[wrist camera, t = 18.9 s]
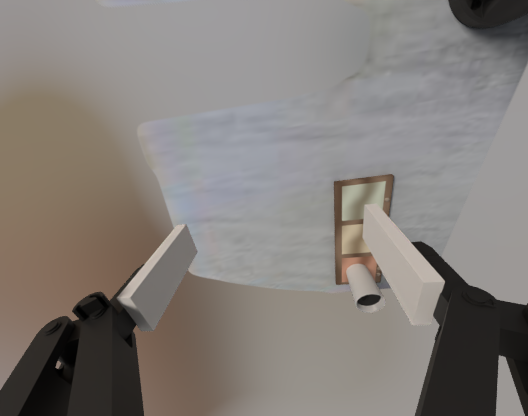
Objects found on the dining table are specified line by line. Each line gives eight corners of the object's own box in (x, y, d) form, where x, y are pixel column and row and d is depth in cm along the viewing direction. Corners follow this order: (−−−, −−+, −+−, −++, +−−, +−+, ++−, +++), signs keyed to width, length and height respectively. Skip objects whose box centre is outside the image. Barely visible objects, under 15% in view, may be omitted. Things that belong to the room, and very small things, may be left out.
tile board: (391, 174, 44) (394, 176, 43) (378, 279, 59) (380, 282, 58) (334, 181, 46) (335, 183, 45) (335, 281, 60) (336, 285, 59)
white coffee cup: (348, 282, 59) (359, 314, 50) (341, 266, 56) (351, 297, 47) (372, 276, 57) (388, 308, 48) (366, 259, 54) (382, 290, 45)
